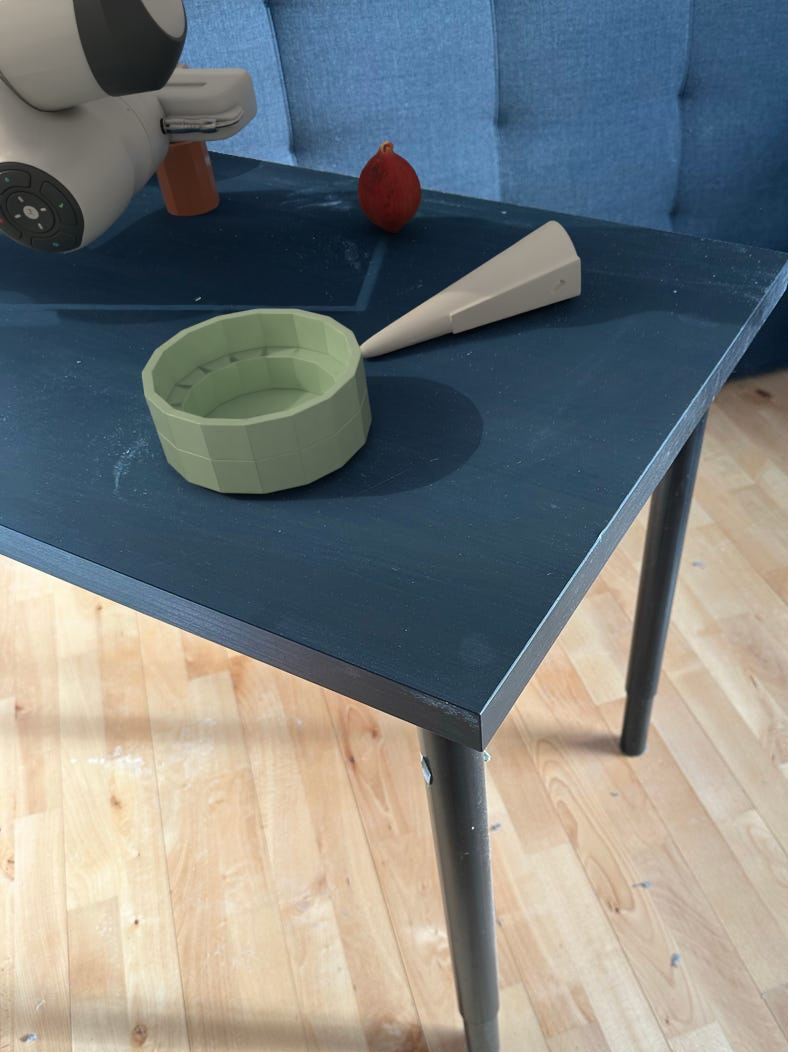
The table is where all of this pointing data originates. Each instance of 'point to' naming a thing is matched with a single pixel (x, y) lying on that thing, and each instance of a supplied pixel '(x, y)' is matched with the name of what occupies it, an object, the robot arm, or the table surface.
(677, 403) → the table surface
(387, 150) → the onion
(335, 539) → the table surface
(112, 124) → the robot arm
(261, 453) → the bowl
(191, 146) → the holder
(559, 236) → the long cone
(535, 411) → the table surface
